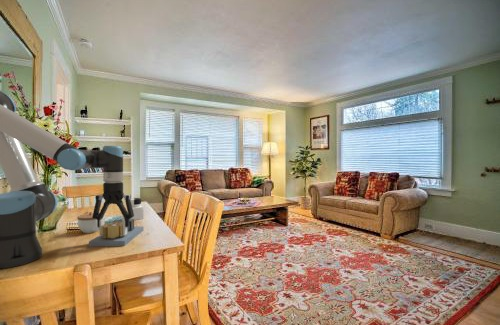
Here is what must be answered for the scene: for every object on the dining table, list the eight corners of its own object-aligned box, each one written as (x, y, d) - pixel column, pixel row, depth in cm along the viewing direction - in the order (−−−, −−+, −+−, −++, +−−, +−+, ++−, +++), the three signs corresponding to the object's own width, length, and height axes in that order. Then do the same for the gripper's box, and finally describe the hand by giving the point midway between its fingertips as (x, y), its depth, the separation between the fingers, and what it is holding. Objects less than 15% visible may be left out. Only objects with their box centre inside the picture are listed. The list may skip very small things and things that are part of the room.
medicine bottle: (140, 216, 156) (139, 196, 156) (143, 218, 150) (143, 198, 150) (127, 218, 151) (127, 198, 151) (130, 220, 146) (130, 199, 146)
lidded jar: (108, 228, 130) (108, 210, 130) (93, 234, 119) (93, 214, 119) (88, 228, 131) (88, 209, 131) (71, 234, 120) (71, 214, 120)
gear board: (88, 246, 104) (88, 229, 104) (114, 230, 126) (114, 216, 126) (124, 245, 105) (124, 228, 105) (143, 230, 127) (143, 216, 127)
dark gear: (110, 233, 115) (110, 223, 115) (115, 228, 124) (115, 218, 123) (131, 232, 117) (131, 222, 117) (135, 226, 126) (135, 217, 126)
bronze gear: (97, 238, 106) (97, 227, 105) (107, 232, 114) (107, 222, 114) (119, 238, 106) (119, 227, 106) (128, 232, 115) (128, 222, 115)
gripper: (81, 182, 105) (82, 237, 106) (136, 182, 107) (136, 236, 107) (91, 181, 113) (92, 232, 113) (142, 181, 114) (142, 231, 115)
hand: (113, 234), depth 110 cm, fingers closed on bronze gear, 9 cm apart
